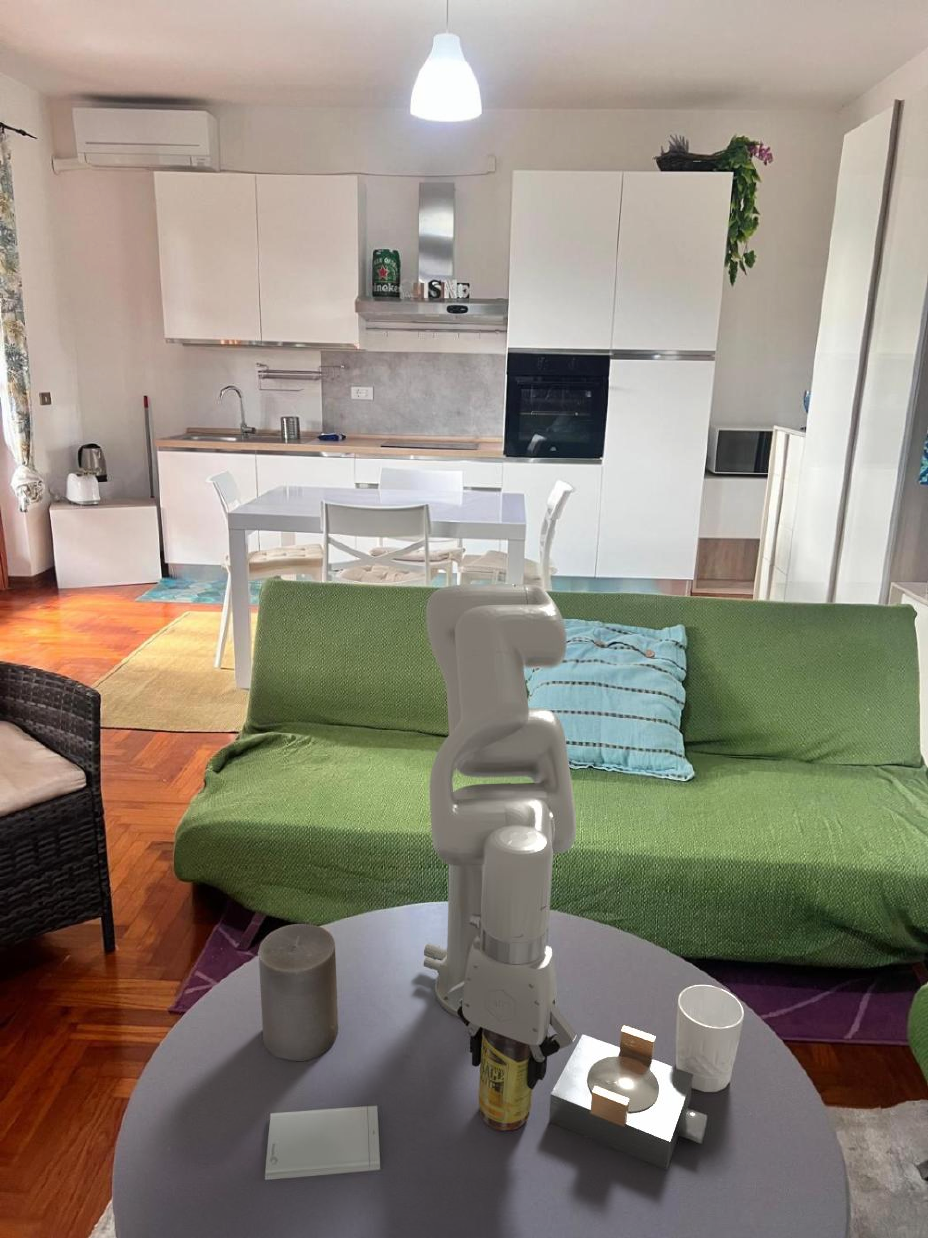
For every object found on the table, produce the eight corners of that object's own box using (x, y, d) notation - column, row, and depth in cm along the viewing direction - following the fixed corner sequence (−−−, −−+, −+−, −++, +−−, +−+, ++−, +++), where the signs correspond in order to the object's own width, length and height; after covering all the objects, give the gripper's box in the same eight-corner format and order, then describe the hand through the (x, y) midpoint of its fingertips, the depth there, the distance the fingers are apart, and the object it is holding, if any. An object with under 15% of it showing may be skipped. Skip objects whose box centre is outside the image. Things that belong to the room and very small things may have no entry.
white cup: (737, 1102, 110) (746, 1033, 108) (671, 1090, 112) (678, 1022, 109) (732, 1055, 118) (741, 990, 115) (670, 1045, 119) (677, 980, 116)
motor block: (547, 1125, 106) (550, 1075, 104) (581, 1058, 117) (585, 1012, 115) (689, 1184, 99) (696, 1132, 97) (713, 1107, 109) (719, 1059, 108)
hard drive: (264, 1172, 98) (380, 1162, 99) (270, 1111, 106) (377, 1102, 107) (265, 1184, 98) (380, 1174, 100) (270, 1123, 106) (377, 1114, 108)
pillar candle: (319, 1000, 125) (315, 906, 121) (350, 1044, 118) (348, 945, 113) (251, 1027, 120) (245, 929, 116) (280, 1075, 112) (274, 972, 108)
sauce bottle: (469, 1102, 109) (473, 960, 104) (516, 1087, 112) (522, 948, 106) (492, 1144, 103) (498, 996, 98) (541, 1127, 106) (549, 982, 100)
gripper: (429, 931, 101) (426, 1064, 106) (576, 981, 94) (565, 1121, 99) (459, 897, 108) (455, 1024, 113) (599, 941, 100) (588, 1075, 105)
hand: (507, 1068), depth 106 cm, fingers closed on sauce bottle, 6 cm apart
